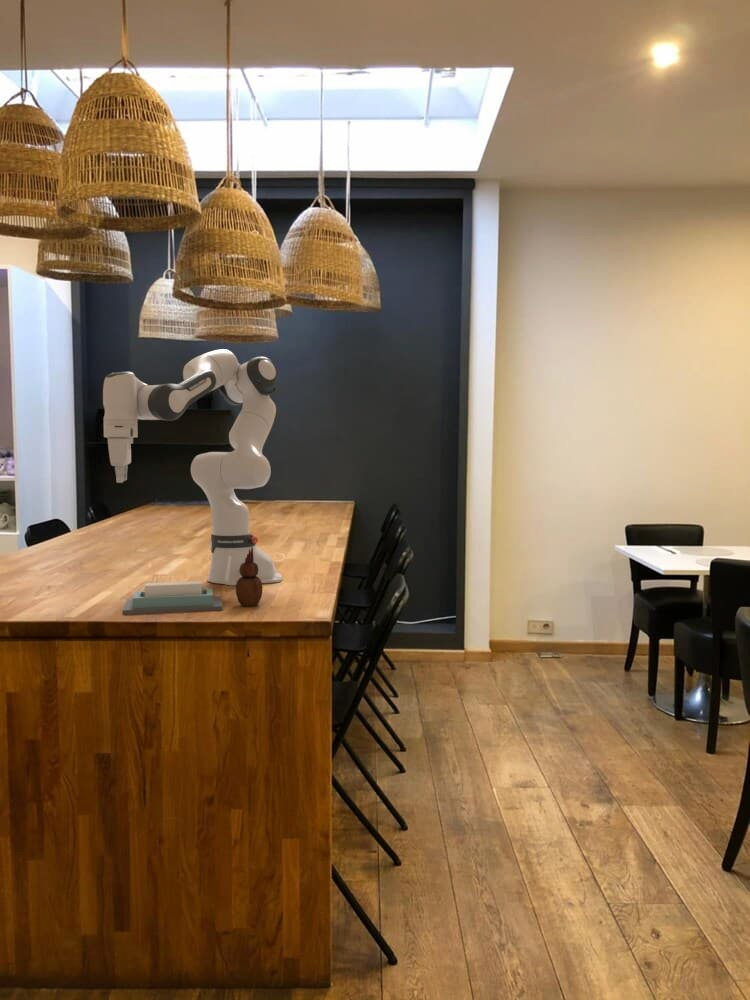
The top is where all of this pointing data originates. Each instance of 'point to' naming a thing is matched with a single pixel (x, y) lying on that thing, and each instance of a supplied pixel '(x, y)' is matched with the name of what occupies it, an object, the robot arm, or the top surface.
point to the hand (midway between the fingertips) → (121, 481)
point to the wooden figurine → (249, 582)
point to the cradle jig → (172, 603)
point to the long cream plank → (173, 588)
